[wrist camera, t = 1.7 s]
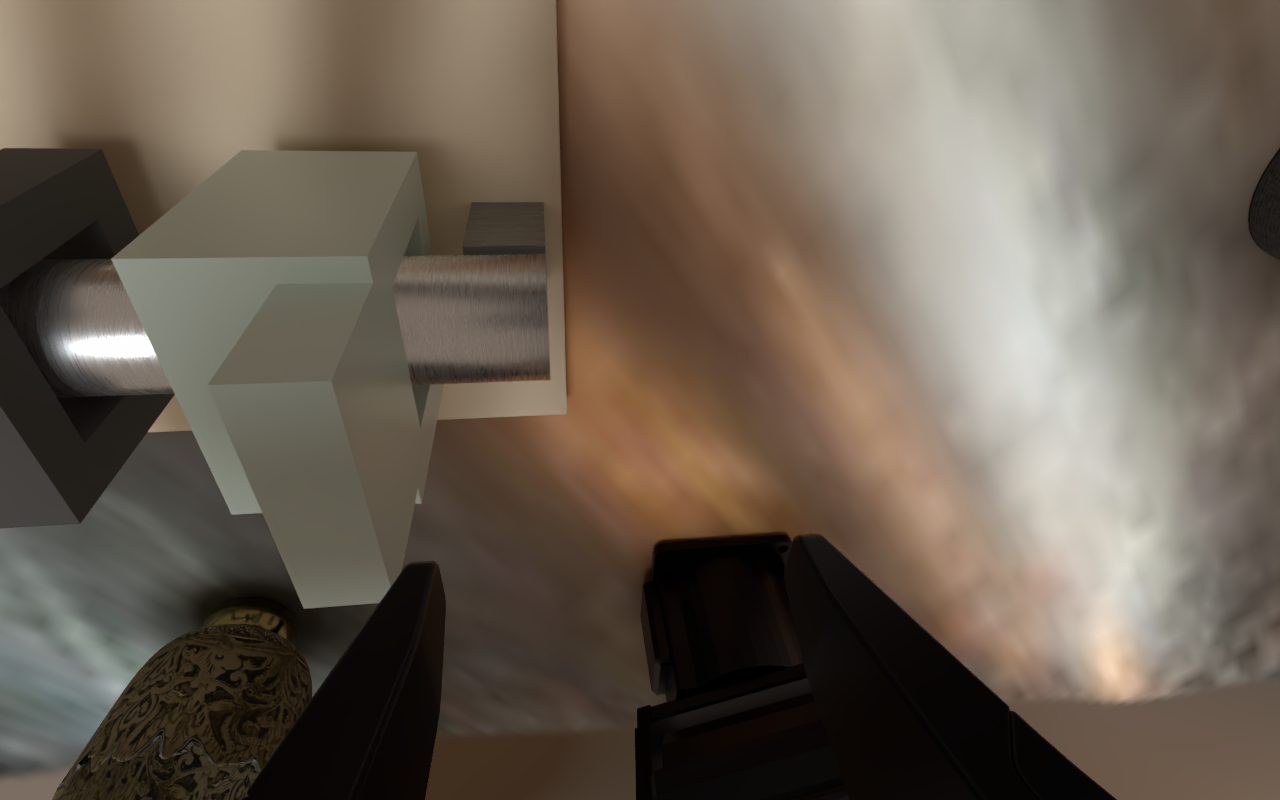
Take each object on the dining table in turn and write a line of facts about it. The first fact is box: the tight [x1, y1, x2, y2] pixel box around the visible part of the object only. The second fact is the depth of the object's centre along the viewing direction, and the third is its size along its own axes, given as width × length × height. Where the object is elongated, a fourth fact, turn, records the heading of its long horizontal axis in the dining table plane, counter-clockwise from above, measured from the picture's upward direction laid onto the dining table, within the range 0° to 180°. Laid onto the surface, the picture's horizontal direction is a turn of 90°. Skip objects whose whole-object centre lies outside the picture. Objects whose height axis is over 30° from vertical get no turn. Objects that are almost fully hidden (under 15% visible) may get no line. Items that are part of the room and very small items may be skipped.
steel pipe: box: [0, 202, 551, 398], centre depth 15 cm, size 22×3×6 cm, turn 87°
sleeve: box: [111, 150, 444, 609], centre depth 14 cm, size 4×6×9 cm, turn 177°
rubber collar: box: [0, 148, 175, 528], centre depth 14 cm, size 2×6×6 cm, turn 177°
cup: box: [53, 598, 312, 800], centre depth 26 cm, size 8×7×8 cm
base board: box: [0, 0, 567, 432], centre depth 18 cm, size 23×13×1 cm, turn 87°
